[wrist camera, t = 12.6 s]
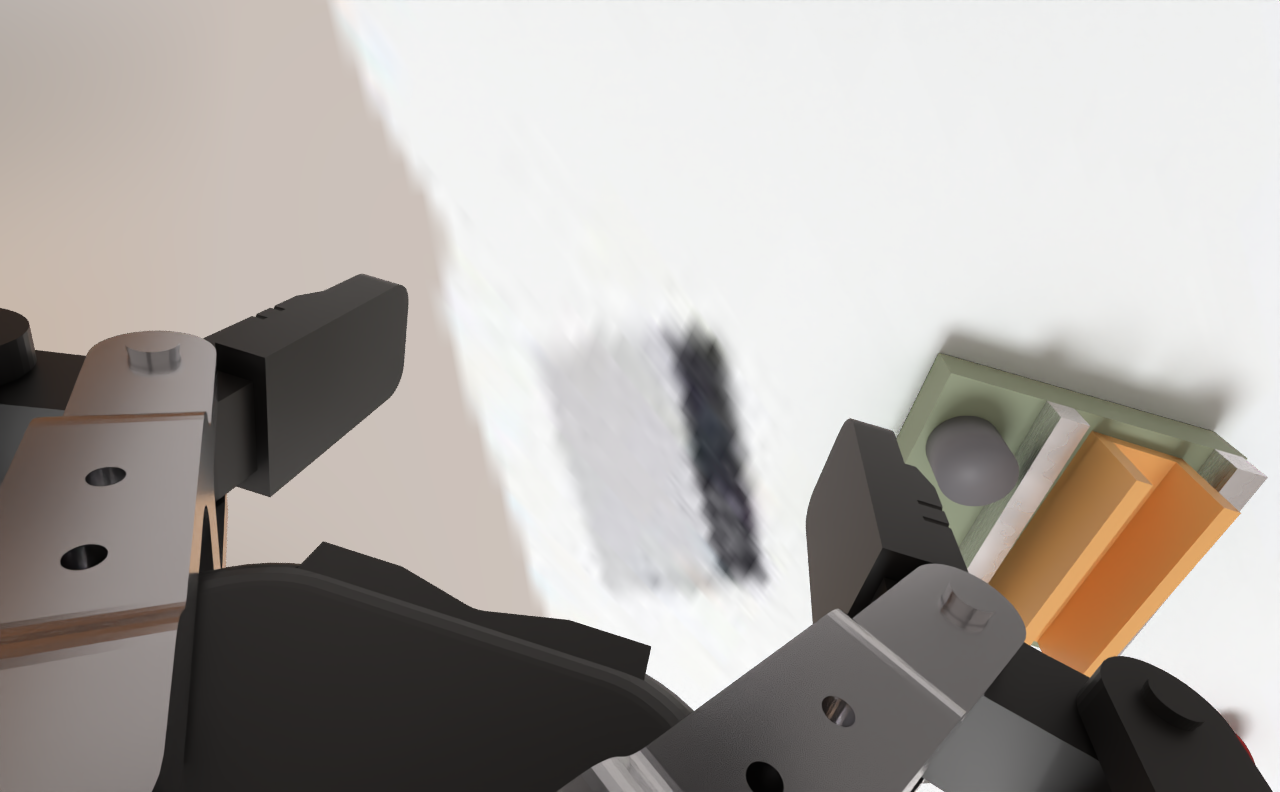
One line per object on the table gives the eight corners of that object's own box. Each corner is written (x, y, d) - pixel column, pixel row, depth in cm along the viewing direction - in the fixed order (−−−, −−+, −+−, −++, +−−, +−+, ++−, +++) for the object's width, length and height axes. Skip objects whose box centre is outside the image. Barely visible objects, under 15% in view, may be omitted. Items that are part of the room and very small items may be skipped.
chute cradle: (1046, 400, 36) (1061, 417, 34) (1242, 457, 35) (1267, 477, 33) (920, 610, 43) (927, 633, 41) (1081, 660, 42) (1094, 685, 41)
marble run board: (938, 352, 39) (965, 396, 33) (1213, 431, 38) (1286, 489, 32) (838, 557, 46) (846, 619, 41) (1066, 627, 45) (1105, 700, 40)
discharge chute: (1091, 430, 36) (1136, 480, 31) (1182, 459, 36) (1240, 513, 31) (968, 611, 42) (991, 673, 38) (1045, 636, 42) (1077, 702, 38)
